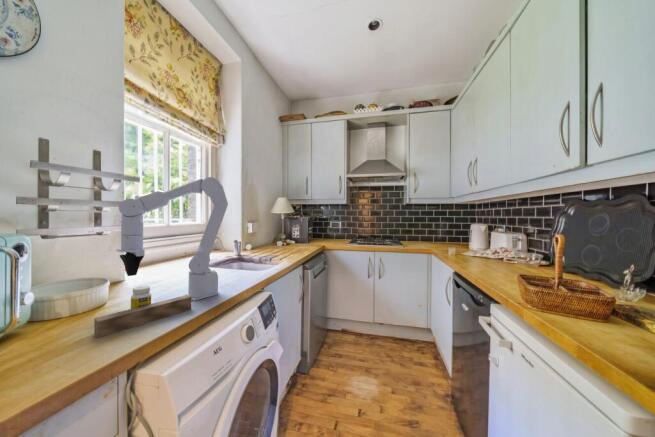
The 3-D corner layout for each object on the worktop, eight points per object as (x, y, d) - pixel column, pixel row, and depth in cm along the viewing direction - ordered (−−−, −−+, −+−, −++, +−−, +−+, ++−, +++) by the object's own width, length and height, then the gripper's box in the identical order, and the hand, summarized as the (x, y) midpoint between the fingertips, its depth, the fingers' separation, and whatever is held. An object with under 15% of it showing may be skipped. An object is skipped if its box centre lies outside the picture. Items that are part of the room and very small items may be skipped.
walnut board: (186, 307, 77) (186, 294, 77) (191, 309, 76) (191, 296, 76) (94, 334, 59) (94, 318, 59) (97, 337, 57) (97, 321, 57)
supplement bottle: (138, 320, 67) (138, 290, 67) (126, 318, 68) (126, 289, 68) (154, 313, 72) (155, 286, 71) (143, 311, 73) (143, 284, 73)
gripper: (109, 234, 80) (109, 274, 80) (125, 237, 72) (124, 281, 72) (135, 233, 86) (134, 270, 86) (152, 235, 78) (151, 276, 78)
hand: (131, 275), depth 80 cm, fingers closed
